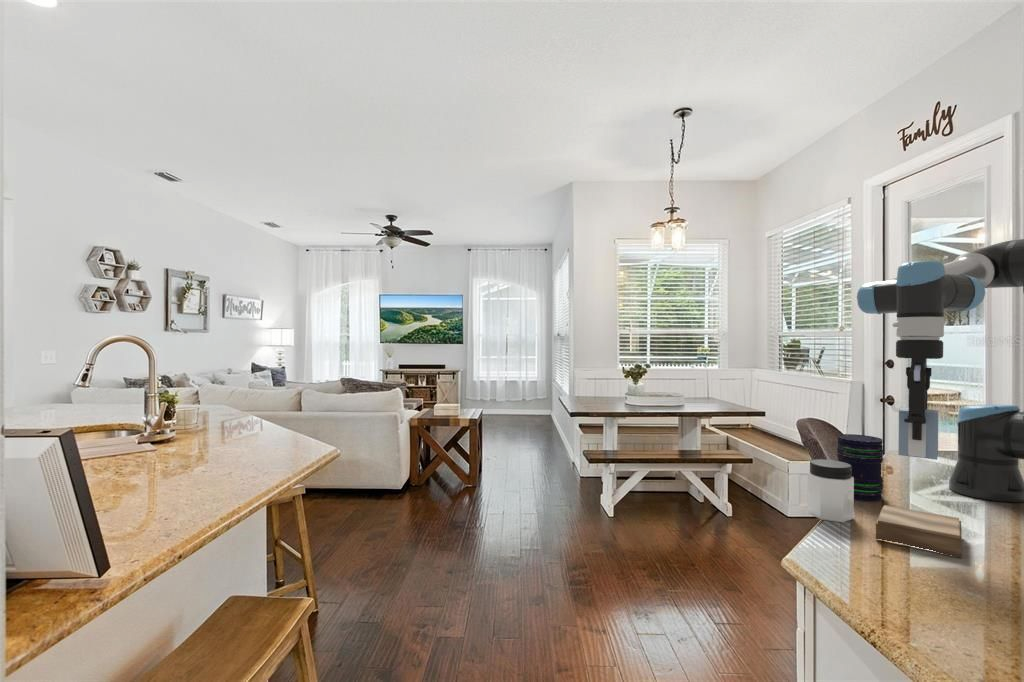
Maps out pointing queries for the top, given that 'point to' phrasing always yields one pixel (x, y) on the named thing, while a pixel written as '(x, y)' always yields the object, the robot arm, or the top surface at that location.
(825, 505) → the jar
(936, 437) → the slate block
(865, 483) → the dark blue upright cylinder
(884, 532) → the base block
